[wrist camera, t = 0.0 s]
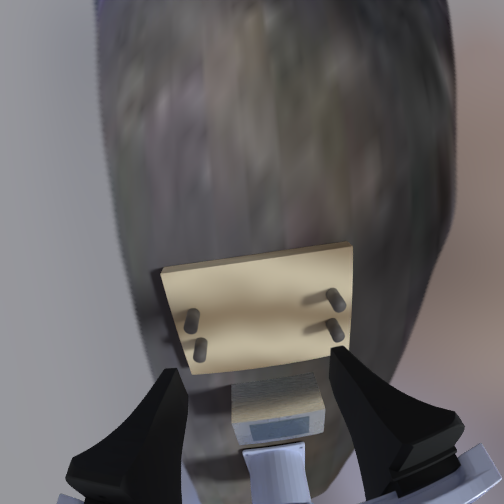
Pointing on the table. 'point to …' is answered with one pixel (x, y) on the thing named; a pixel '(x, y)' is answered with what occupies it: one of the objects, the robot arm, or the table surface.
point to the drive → (277, 409)
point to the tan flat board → (262, 307)
